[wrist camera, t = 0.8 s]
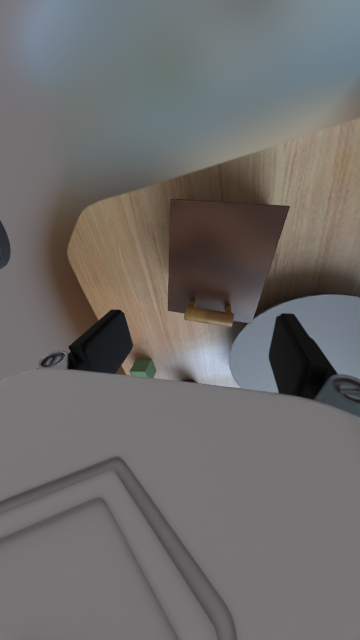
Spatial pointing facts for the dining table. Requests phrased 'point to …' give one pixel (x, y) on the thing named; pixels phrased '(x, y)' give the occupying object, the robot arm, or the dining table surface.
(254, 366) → the flat disc
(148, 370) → the block
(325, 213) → the dining table surface
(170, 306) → the lid
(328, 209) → the dining table surface
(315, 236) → the dining table surface
